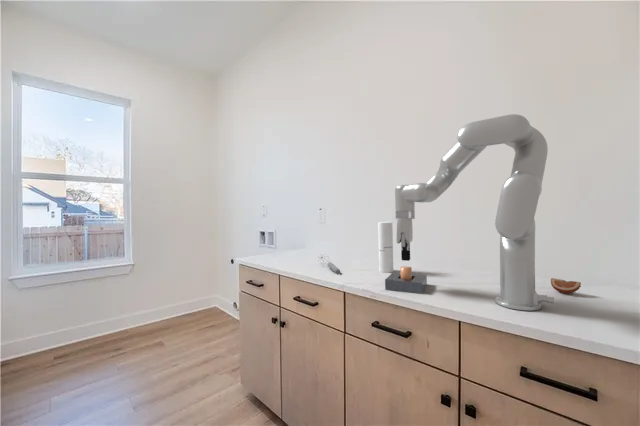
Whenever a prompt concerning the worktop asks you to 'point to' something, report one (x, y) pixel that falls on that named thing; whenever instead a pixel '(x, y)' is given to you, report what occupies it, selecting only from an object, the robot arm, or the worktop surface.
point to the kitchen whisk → (330, 265)
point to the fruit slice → (565, 285)
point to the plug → (406, 272)
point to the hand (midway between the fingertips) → (405, 260)
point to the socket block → (406, 283)
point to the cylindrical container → (385, 246)
